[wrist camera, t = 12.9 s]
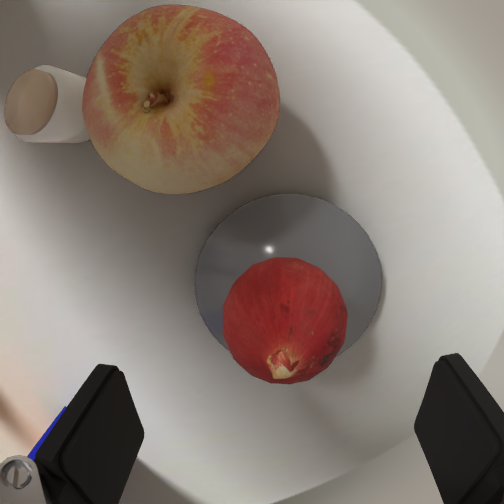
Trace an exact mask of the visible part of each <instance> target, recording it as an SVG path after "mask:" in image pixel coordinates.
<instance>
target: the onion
mask: <svg viewBox="0 0 504 504" xmlns="http://www.w3.org/2000/svg"><path fill="white" fill-rule="evenodd" d="M347 318H348V312H347V308H346V305H345V303H344V300H343V298H342V295H341V293H340V290H339V288H338V285H337V284H336V283H335V282H334V281H333V280H332V279H331V278H330V277H329V276H328V275H327V274H326V273H325V272H324V271H323V270H322V269H320V268H319V267H317V266H315V265H312V264H310V263H308V262H306V261H303V260H301V259H299V258H286V257H273V258H270V259H268V260H265V261H262V262H259V263H256V264H253V265H252V266H250V267H249V268H248V269H247V270H246V271H245V272H244V273H243V274H242V275H241V276H240V277H239V278H238V279H236V281H235V282H234V284H233V285H232V287H231V289H230V291H229V293H228V296H227V298H226V300H225V302H224V305H223V336H224V339H225V341H226V344H227V346H228V348H229V350H230V352H231V354H232V356H233V358H234V360H235V361H236V362H237V363H238V364H239V365H240V366H242V367H243V368H244V369H245V370H246V371H247V372H248V373H249V374H251V375H252V376H254V377H257V378H259V379H262V380H264V381H267V382H269V383H279V384H293V383H298V382H303V381H307V380H310V379H311V378H313V377H314V376H316V375H317V374H319V373H320V372H322V371H323V370H324V369H326V368H327V367H328V366H329V365H330V364H331V362H332V361H333V359H334V358H335V356H336V355H337V353H338V352H339V350H340V349H341V347H342V346H343V344H344V341H345V338H346V328H347Z"/></svg>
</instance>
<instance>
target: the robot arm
mask: <svg viewBox="0 0 504 504" xmlns="http://www.w3.org/2000/svg"><path fill="white" fill-rule="evenodd" d="M414 429H415V433H416V435H417V437H418V440H419V442H420V445H421V447H422V449H423V451H424V454H425V457H426V459H427V461H428V464H429V466H430V469H431V471H432V474H433V476H434V479H435V482H436V484H437V487H438V489H439V492H440V495H441V497H442V500H443V503H444V504H504V412H503V411H502V409H501V408H500V407H499V405H498V404H497V403H496V401H495V400H494V398H493V397H492V396H491V394H490V393H489V392H488V391H487V389H486V387H485V386H484V385H483V384H482V382H481V381H480V380H479V378H478V377H477V376H476V374H475V373H474V372H473V370H472V369H471V368H470V367H469V365H468V364H467V363H466V362H465V360H464V359H463V358H462V356H461V355H460V354H458V353H455V354H449V355H444V356H441V357H440V358H439V360H438V361H437V362H435V364H434V367H433V370H432V373H431V377H430V380H429V383H428V386H427V389H426V392H425V395H424V398H423V401H422V404H421V406H420V409H419V412H418V415H417V417H416V420H415V424H414ZM143 439H144V429H143V426H142V424H141V421H140V419H139V416H138V413H137V411H136V408H135V405H134V402H133V400H132V397H131V394H130V391H129V388H128V385H127V382H126V379H125V376H124V373H123V372H122V371H119V369H118V367H117V366H114V365H105V364H98V365H97V366H96V367H95V369H94V370H93V371H92V373H91V374H90V375H89V377H88V378H87V380H86V381H85V382H84V384H83V385H82V386H81V388H80V389H79V391H78V392H77V394H76V395H75V396H74V398H73V399H72V401H71V402H70V403H69V405H68V406H67V408H66V409H65V411H64V412H63V413H62V415H61V416H60V418H59V419H58V421H57V422H56V424H55V425H54V427H53V428H52V430H51V431H50V433H49V434H48V436H47V437H46V439H45V440H44V442H43V443H42V445H41V446H40V448H39V449H38V451H37V452H36V454H35V456H36V458H35V459H34V461H32V459H30V458H28V457H26V456H21V455H17V456H12V457H9V458H7V459H6V460H4V461H3V462H2V463H1V464H0V504H118V503H119V500H120V498H121V495H122V492H123V490H124V487H125V485H126V482H127V480H128V477H129V474H130V472H131V469H132V467H133V464H134V462H135V459H136V457H137V454H138V452H139V449H140V447H141V444H142V442H143Z"/></svg>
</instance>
